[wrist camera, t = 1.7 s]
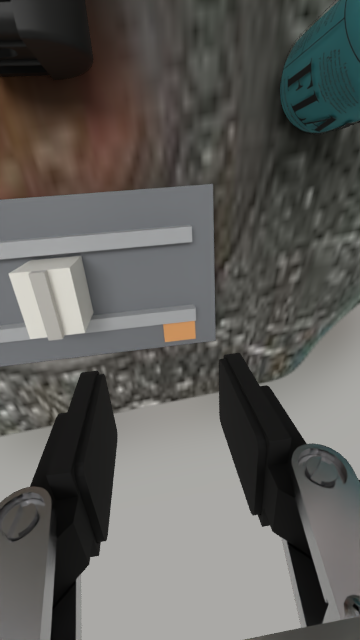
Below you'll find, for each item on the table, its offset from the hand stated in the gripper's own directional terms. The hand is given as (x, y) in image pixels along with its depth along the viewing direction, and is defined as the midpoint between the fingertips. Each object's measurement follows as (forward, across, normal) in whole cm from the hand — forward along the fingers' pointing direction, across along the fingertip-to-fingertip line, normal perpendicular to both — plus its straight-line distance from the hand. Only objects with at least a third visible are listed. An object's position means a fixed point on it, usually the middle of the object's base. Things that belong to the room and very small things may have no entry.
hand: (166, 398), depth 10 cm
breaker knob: (+15, +7, 0) cm, 17 cm away
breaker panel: (+17, +8, 0) cm, 19 cm away
